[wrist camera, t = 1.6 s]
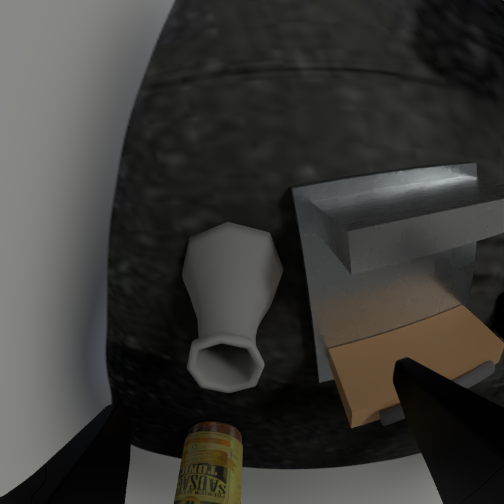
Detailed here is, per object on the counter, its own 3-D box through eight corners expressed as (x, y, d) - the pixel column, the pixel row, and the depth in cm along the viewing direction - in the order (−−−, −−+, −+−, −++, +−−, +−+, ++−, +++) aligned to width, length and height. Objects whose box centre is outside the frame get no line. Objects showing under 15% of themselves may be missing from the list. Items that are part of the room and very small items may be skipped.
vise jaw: (459, 321, 22) (505, 370, 14) (329, 365, 22) (355, 440, 15) (462, 304, 21) (513, 352, 13) (328, 349, 22) (357, 426, 14)
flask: (189, 315, 22) (162, 417, 12) (175, 224, 19) (119, 294, 10) (283, 310, 22) (307, 413, 12) (282, 217, 19) (319, 284, 10)
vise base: (457, 328, 23) (498, 373, 16) (317, 375, 24) (336, 444, 17) (468, 161, 18) (538, 176, 10) (289, 186, 18) (321, 211, 11)
